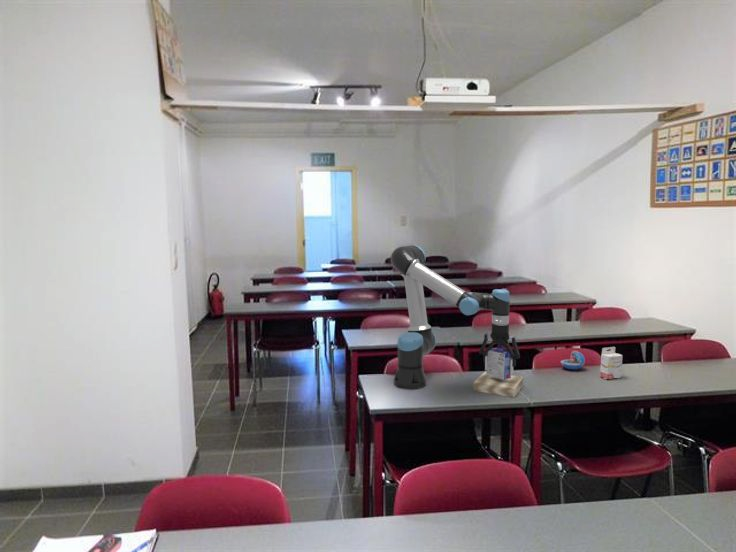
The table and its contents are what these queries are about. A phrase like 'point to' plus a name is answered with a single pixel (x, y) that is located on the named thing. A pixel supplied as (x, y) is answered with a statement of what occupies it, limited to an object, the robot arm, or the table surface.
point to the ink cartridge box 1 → (499, 363)
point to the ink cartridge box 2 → (610, 363)
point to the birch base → (498, 385)
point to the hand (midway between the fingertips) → (499, 371)
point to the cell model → (574, 361)
